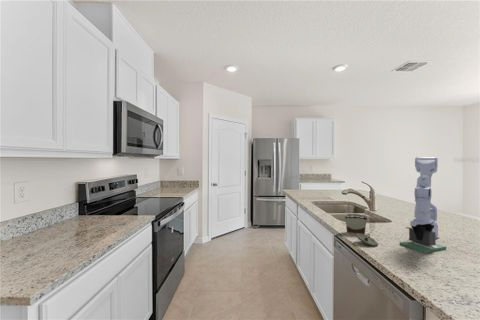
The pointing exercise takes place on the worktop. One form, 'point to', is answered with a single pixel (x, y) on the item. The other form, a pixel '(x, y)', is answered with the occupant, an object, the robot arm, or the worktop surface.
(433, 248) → the header board
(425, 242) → the plug housing
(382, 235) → the worktop surface
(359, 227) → the food container
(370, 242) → the lid
